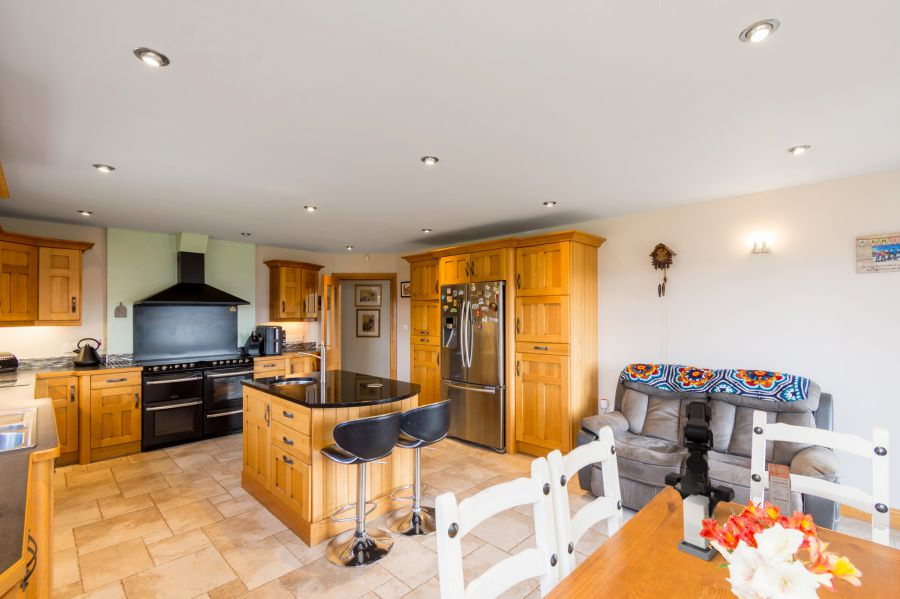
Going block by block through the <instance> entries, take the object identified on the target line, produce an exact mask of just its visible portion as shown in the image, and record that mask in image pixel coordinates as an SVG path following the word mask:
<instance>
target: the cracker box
mask: <svg viewBox="0 0 900 599" xmlns="http://www.w3.org/2000/svg"><path fill="white" fill-rule="evenodd" d="M767 467H768V469H767V471H768V472H767V480H768V500H769V501H768V503H770V504H772V505H774V506H778V507H780V508H781V514H782V515H783V516H786V517H791V516H792V517H793V506H792V504H793V503H792V480H791V476H790V475H791V474H790V470H789V466H788V465H785V464H778V463H770V462H768V463H767Z"/></svg>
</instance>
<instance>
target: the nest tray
mask: <svg viewBox="0 0 900 599" xmlns="http://www.w3.org/2000/svg"><path fill="white" fill-rule="evenodd" d="M710 545H711V544H710ZM711 547H712V549H710V548H709V547H707V548H706V549H703V548H701V547H698V546H696V545H693V544H691V543H688V542H685V541H684V538H683V539H682V540H680V541H679V542H678V543H677V550H679V551H681V552H684V553H686V554H688V555H690V556H694V557H696V558H698V559H701V560H703V561H707V562H709V561H710V560H711V559H712V558H713V557H714V556H715V555H716V554H717V553H718V552H719V551H717V550H716V549H715V548H714V547H713V546H711ZM715 553H716V554H715ZM714 554H715V555H714ZM713 555H714V556H713Z"/></svg>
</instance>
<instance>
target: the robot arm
mask: <svg viewBox="0 0 900 599" xmlns="http://www.w3.org/2000/svg"><path fill="white" fill-rule="evenodd" d="M684 409H685V414H684V416H685V419H687V420H686V421H685V425H683V428H682V435H683V437H682V440H683V441H682V448H685V449H686V448H687V449H686V450H687V454H686V459H685V466H686V467H685V473H684V475H683V474H681V473H677V472H674V471H672V472H670V473H668V474H666V475H665V476H664V485H667V486H670V487H672V489H674V490H676V491H677V492H678V493H679V495H680V497H681V500H682V501H683V500H684V499H685V498H687V497H688V496H690V495H691V494H692V495H695V496H697V495H702V496H705V497H708V499H709V518H711V517H712V515H713V513H714V514H715V511H716V508H717V506H718V504H719V503H721V502H723V503H730V502H731V501H732V500H734V499H735V496H736V492H735V490H734V488H732V487H729V486H725V485H721V484H719V485H718V486H716V487H715V486H714V485H712V478H710V476H709V471H710V466H709V452H711V451H712V448H714V432H712V429H710V428H709V427H710V425H711V424H710V422H712V421H713V414H712V413H713V412H712V411H713V410H712V407H710V406H709V405H707V403H706V402H704V401H698V400H697V401H696V400H692V401H689V403H688V404H686V405H685V408H684Z"/></svg>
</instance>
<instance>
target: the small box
mask: <svg viewBox="0 0 900 599" xmlns="http://www.w3.org/2000/svg"><path fill="white" fill-rule="evenodd" d="M682 507H683V508H682V510H683V511H682V512H683V536H684V537H683V539H684V541H685V542H688V543H691V544H693V545H696V546H698V547H701V548H703V549H706V548H707V547H708V546H709V545H710V544H711V543H710V540H709V539H707V538H703V537H701V536H700V535H699V533H700V532H701V530H702V529H703V526H702V520H703V519H713V520H714V521H715V512H714V513H713V515H712V517H711V518H709V499H708V497H705V496H702V495H697V496H695V495H692V494H691V495H690V496H688V497H687V498H685V499H684V500H682Z"/></svg>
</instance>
